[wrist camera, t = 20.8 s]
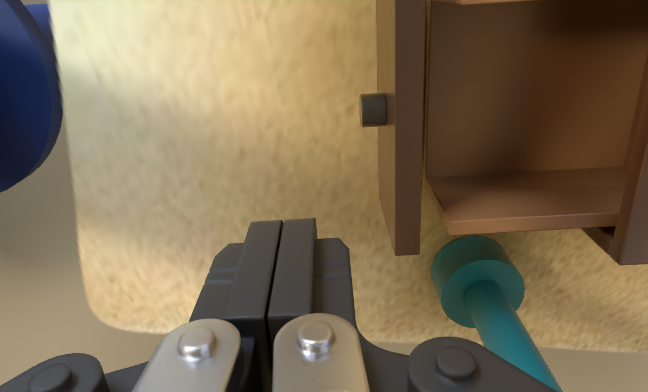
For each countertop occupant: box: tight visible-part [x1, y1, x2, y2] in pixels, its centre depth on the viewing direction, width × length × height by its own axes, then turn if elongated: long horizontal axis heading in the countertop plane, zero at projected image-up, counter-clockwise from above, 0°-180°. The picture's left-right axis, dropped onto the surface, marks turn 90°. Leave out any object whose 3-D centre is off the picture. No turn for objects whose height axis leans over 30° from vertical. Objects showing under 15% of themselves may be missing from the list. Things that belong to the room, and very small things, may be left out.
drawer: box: [359, 0, 648, 256], centre depth 23 cm, size 16×13×7 cm
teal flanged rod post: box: [431, 236, 563, 392], centre depth 27 cm, size 5×5×12 cm
